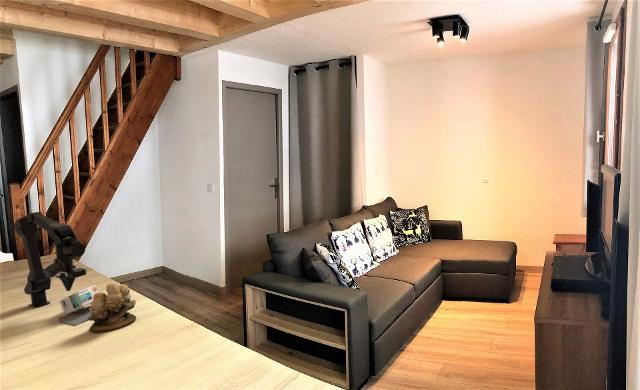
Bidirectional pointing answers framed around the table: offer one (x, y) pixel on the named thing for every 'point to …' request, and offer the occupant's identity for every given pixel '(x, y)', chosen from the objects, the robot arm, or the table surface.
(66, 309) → the light bulb box
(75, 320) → the rubber mat
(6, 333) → the table surface
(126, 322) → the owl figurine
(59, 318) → the walnut kerb
